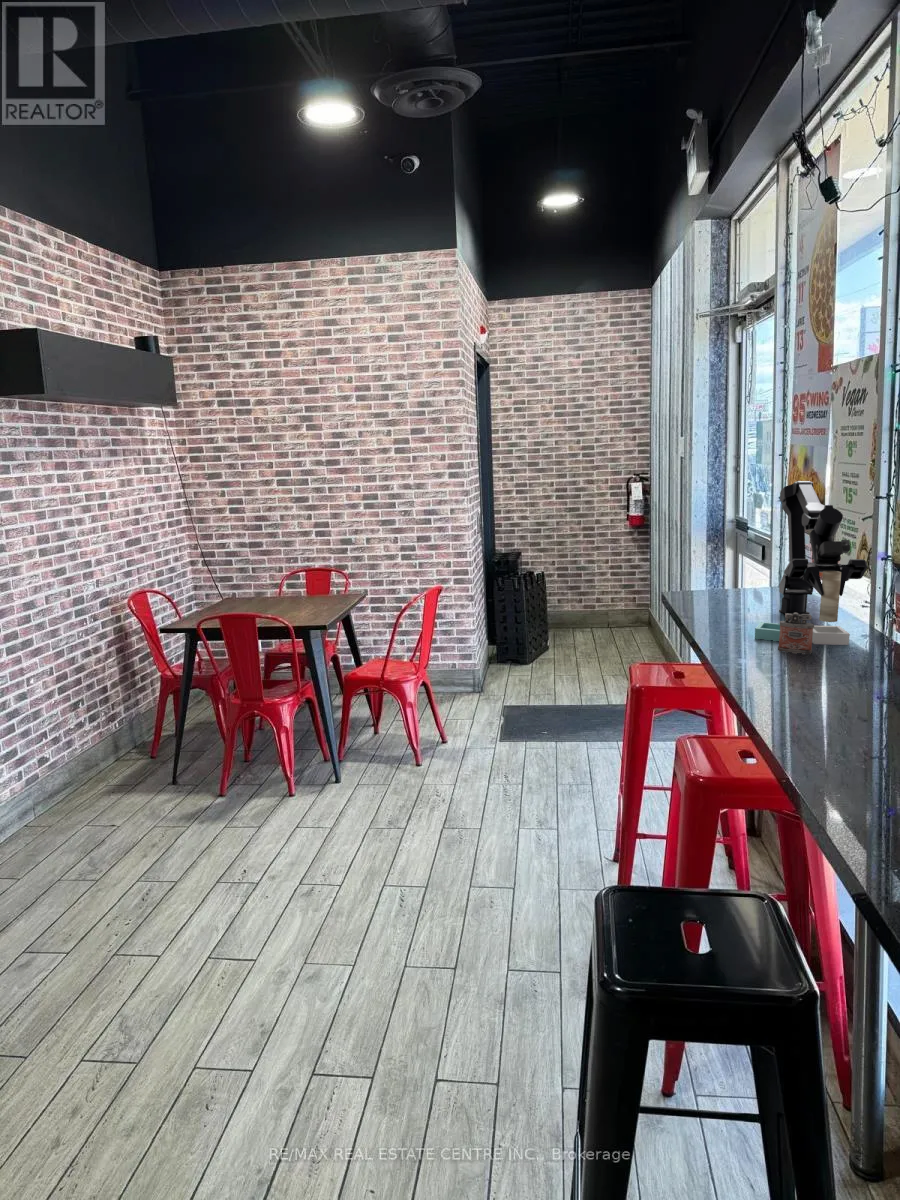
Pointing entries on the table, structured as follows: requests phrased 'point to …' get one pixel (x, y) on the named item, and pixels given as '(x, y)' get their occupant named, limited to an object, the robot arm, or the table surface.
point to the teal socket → (767, 631)
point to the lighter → (796, 634)
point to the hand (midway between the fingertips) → (831, 595)
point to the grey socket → (830, 635)
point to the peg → (830, 596)
